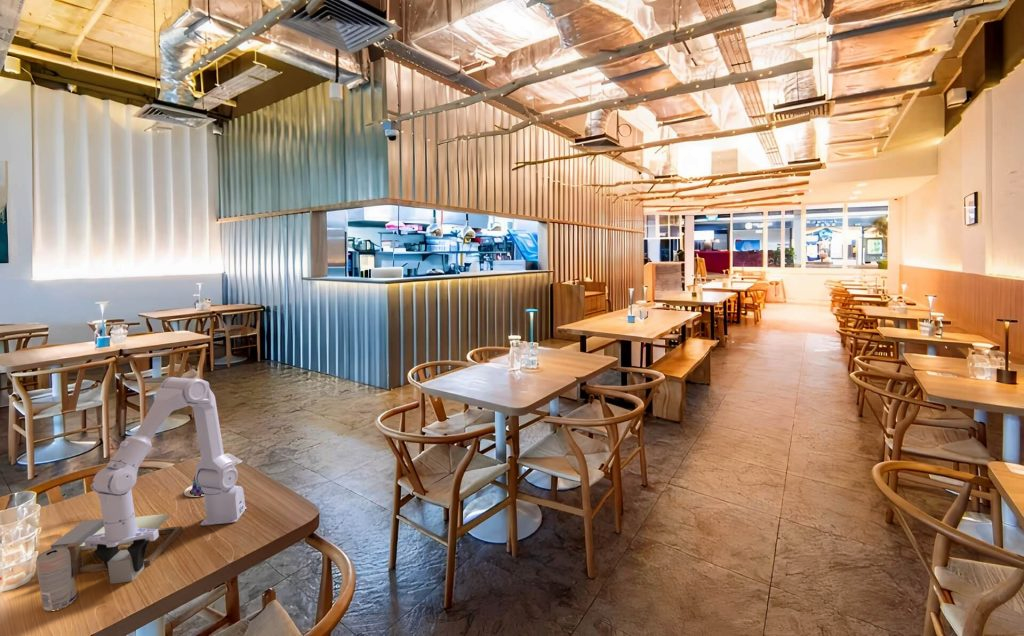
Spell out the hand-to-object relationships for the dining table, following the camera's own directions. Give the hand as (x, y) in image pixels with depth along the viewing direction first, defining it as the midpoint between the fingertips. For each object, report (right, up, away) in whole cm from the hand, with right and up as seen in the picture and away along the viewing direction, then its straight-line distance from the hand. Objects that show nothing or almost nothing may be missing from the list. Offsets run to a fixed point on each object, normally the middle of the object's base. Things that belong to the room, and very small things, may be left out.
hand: (127, 570), depth 113 cm
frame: (-10, 0, +10) cm, 14 cm away
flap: (-11, +4, +9) cm, 15 cm away
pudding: (-9, +4, +43) cm, 44 cm away
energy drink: (-8, -3, -9) cm, 12 cm away
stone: (0, -1, 0) cm, 1 cm away
